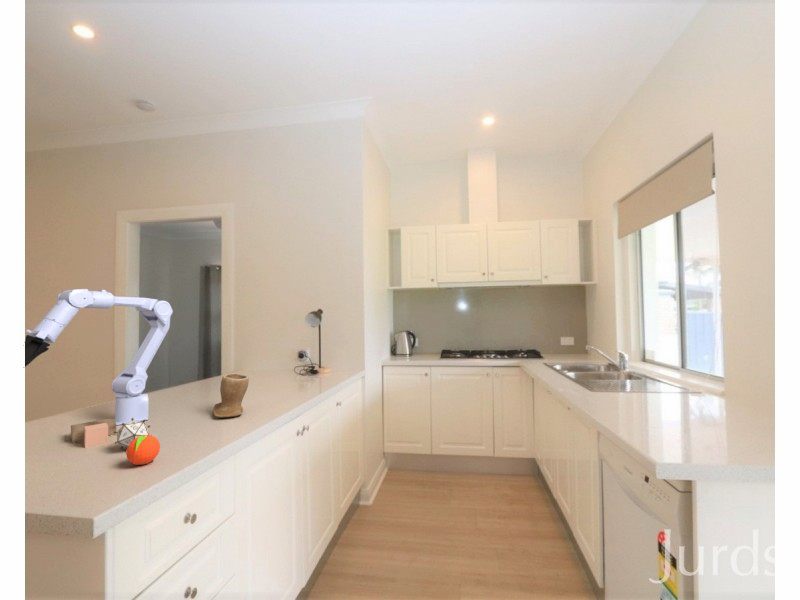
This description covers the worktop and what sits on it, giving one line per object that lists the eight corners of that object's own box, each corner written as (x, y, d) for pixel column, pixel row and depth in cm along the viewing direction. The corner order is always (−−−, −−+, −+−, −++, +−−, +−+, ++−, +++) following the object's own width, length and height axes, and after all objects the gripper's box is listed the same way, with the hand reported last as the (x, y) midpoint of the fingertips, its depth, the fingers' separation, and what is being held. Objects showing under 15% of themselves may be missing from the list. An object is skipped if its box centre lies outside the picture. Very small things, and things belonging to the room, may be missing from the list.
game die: (141, 460, 101) (165, 430, 103) (110, 460, 94) (137, 428, 95) (129, 439, 106) (152, 411, 107) (98, 438, 98) (124, 407, 100)
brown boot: (249, 417, 130) (249, 375, 131) (212, 421, 125) (212, 378, 126) (247, 407, 144) (247, 369, 145) (213, 411, 139) (214, 372, 140)
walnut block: (112, 430, 118) (112, 418, 118) (115, 436, 112) (116, 423, 112) (70, 438, 110) (71, 425, 111) (72, 444, 105) (72, 430, 105)
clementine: (152, 469, 87) (153, 439, 87) (118, 473, 85) (119, 442, 85) (163, 456, 94) (164, 429, 95) (133, 460, 92) (133, 432, 93)
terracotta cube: (106, 439, 108) (106, 422, 109) (107, 443, 105) (108, 426, 105) (84, 443, 105) (84, 426, 105) (85, 448, 101) (85, 430, 101)
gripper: (37, 321, 112) (2, 361, 105) (39, 311, 102) (1, 355, 95) (63, 332, 115) (32, 371, 108) (68, 323, 106) (33, 365, 99)
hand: (19, 364), depth 102 cm, fingers open, 7 cm apart
